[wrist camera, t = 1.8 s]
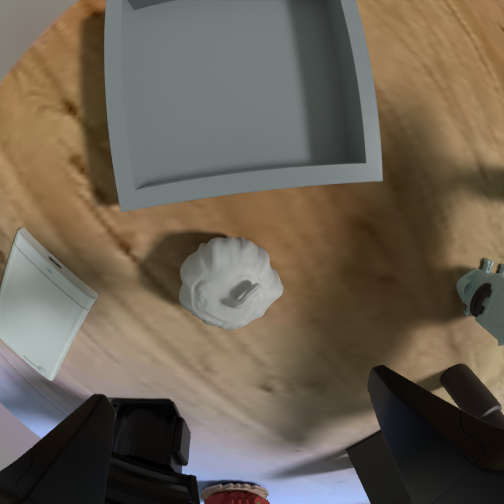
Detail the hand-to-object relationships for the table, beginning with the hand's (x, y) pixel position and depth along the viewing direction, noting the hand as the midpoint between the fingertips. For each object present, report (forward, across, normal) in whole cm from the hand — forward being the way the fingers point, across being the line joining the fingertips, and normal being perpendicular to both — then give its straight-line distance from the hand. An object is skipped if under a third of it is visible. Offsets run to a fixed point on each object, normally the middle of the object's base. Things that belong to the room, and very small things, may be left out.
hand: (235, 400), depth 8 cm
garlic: (+11, 0, 0) cm, 11 cm away
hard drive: (+12, +17, +2) cm, 21 cm away
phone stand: (+11, -15, +29) cm, 34 cm away
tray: (+11, -2, -12) cm, 16 cm away
